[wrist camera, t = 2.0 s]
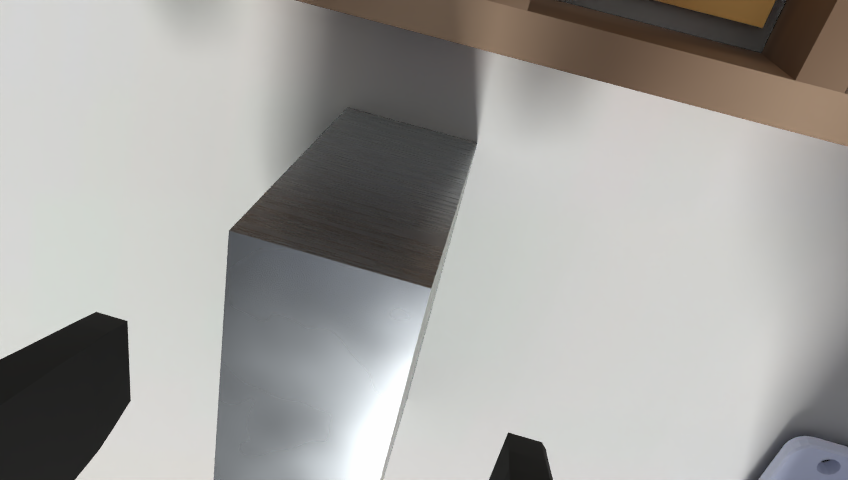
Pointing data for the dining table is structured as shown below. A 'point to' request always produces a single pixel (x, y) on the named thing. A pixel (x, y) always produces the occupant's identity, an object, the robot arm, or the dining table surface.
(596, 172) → the dining table surface
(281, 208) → the metal block
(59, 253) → the dining table surface
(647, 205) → the dining table surface
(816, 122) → the slot rack
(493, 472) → the robot arm
